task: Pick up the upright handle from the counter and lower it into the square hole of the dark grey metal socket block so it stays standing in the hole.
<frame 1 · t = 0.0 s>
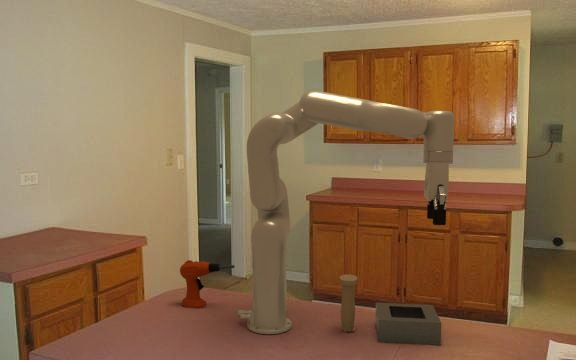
hand: (435, 221, 136), 31 cm above the table, tool pointing down, fingers open, 9 cm apart
socket block: (406, 333, 139), on the table
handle: (347, 331, 141), on the table
toy drill: (207, 307, 160), on the table
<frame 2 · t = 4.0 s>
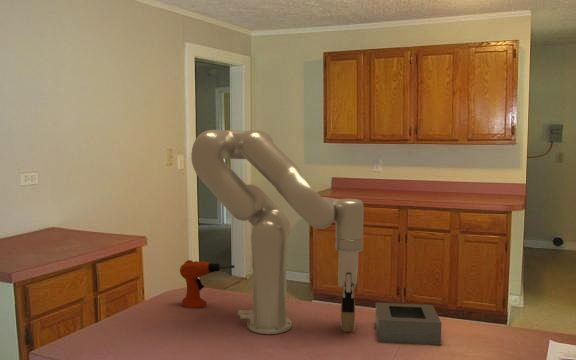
hand: (348, 308, 141), 6 cm above the table, tool pointing down, fingers closed on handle, 4 cm apart
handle: (347, 331, 141), on the table, touching gripper
everything else where it was.
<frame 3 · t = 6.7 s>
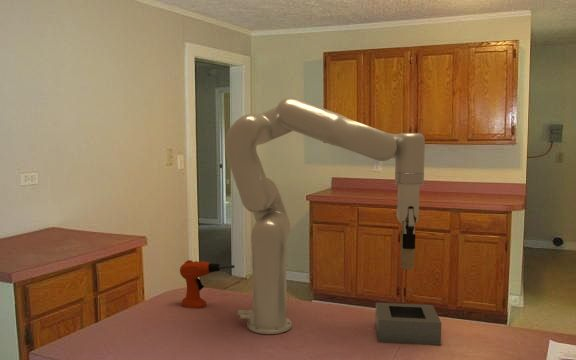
hand: (407, 246, 137), 24 cm above the table, tool pointing down, fingers closed on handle, 4 cm apart
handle: (407, 269, 138), point 18 cm above the table, touching gripper
everything else where it was.
when the fingers open (7 cm above the table, at t = 9.8 s): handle stays where it is, resting in socket block.
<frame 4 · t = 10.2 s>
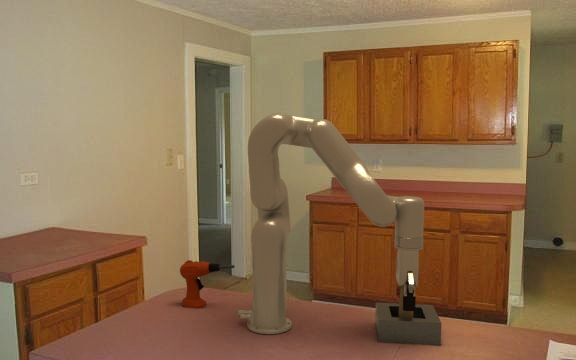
hand: (407, 304, 139), 8 cm above the table, tool pointing down, fingers open, 8 cm apart
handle: (405, 334, 139), resting in socket block
everything else where it was.
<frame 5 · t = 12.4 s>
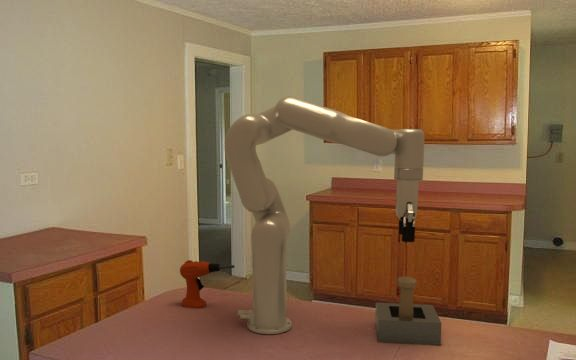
hand: (406, 238, 138), 26 cm above the table, tool pointing down, fingers open, 9 cm apart
nothing on the table moved.
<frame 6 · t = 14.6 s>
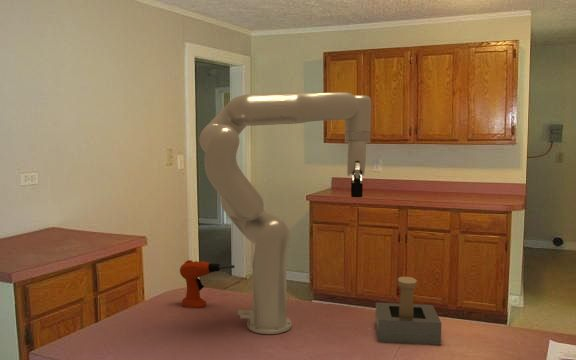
hand: (356, 195, 152), 36 cm above the table, tool pointing down, fingers open, 9 cm apart
nothing on the table moved.
at the end: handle 0.2 cm off-centre on the socket block, point 0.0 cm above the socket block's base; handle tilted 0°; the gripper is holding nothing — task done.
